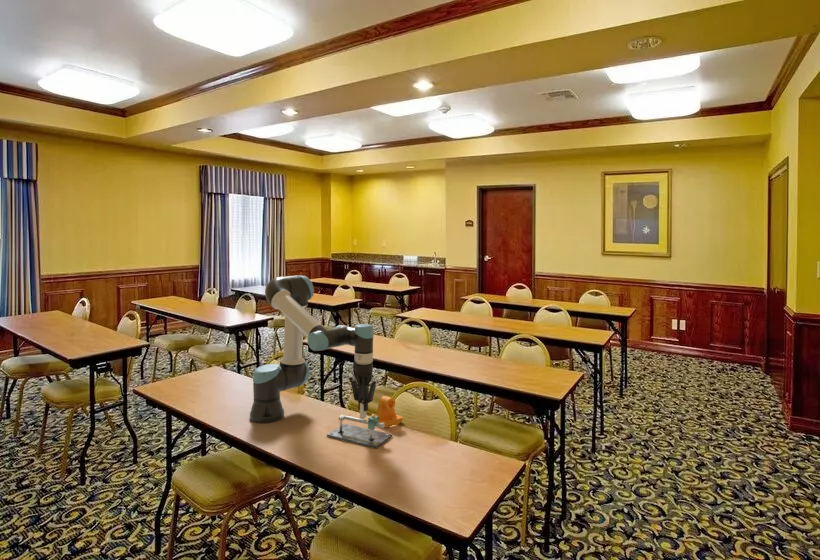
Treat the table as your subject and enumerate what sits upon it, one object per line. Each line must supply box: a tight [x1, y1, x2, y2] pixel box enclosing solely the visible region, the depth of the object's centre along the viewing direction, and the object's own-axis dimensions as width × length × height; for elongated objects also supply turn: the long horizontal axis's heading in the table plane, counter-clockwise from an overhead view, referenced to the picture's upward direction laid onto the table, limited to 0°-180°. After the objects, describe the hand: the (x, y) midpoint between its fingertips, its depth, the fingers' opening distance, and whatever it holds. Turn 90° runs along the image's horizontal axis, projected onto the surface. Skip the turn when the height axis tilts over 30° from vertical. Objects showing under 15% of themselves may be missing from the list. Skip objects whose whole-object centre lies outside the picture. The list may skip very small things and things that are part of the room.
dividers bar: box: [338, 414, 385, 433], centre depth 197 cm, size 21×3×7 cm, turn 63°
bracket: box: [375, 395, 403, 428], centre depth 213 cm, size 11×7×12 cm, turn 135°
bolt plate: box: [326, 423, 393, 450], centre depth 199 cm, size 24×13×1 cm, turn 63°
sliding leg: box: [367, 413, 379, 439], centre depth 195 cm, size 2×4×9 cm, turn 153°
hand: (363, 417), depth 197 cm, fingers closed
